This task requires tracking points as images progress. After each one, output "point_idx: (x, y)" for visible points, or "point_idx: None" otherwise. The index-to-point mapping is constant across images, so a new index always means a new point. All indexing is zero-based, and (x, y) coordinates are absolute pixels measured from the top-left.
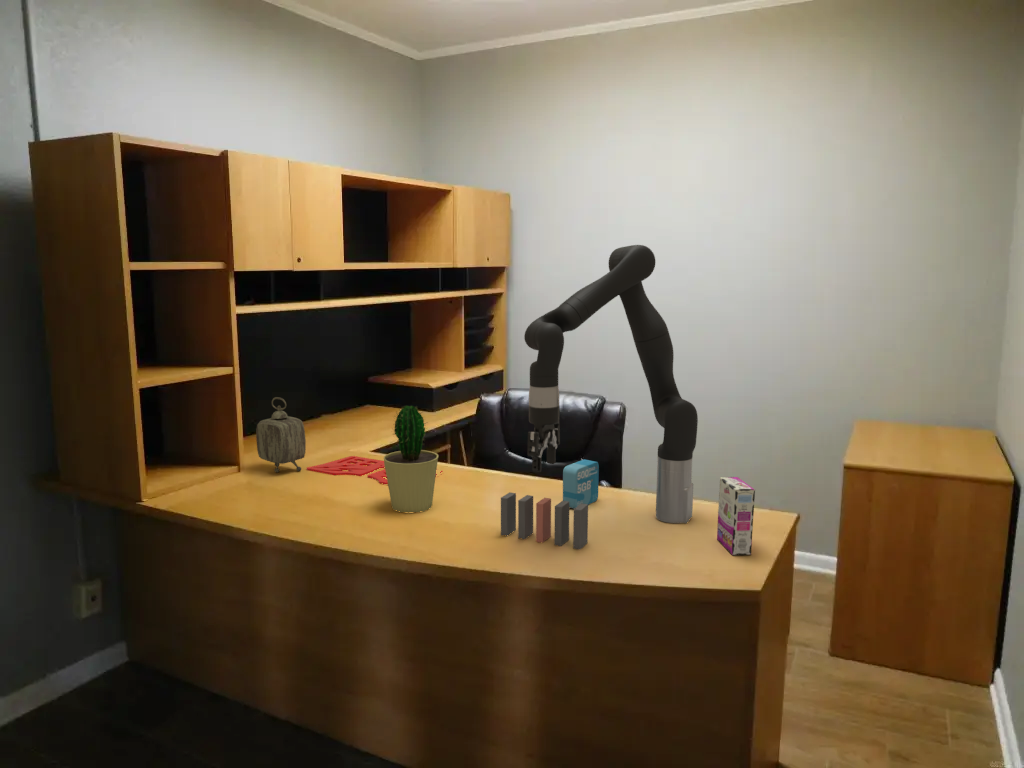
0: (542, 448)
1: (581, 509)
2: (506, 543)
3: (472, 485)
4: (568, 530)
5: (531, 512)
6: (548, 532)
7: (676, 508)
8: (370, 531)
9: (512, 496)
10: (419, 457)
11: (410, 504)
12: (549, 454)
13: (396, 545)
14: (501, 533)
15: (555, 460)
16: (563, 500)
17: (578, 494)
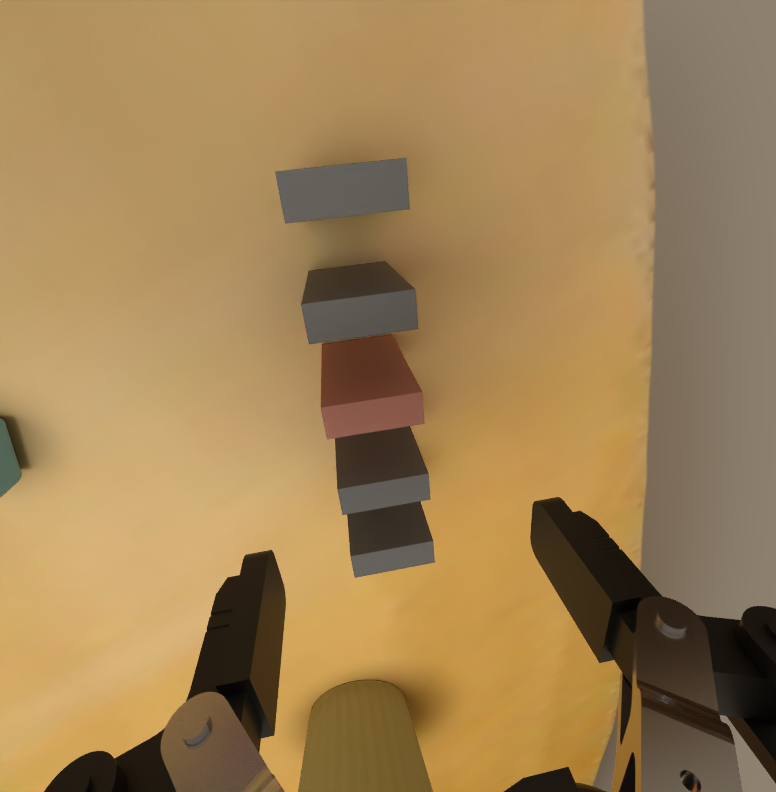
0: (692, 711)
1: (389, 160)
2: (454, 419)
3: (114, 734)
4: (314, 275)
5: (352, 445)
6: (344, 347)
7: None
8: (531, 663)
9: (382, 546)
10: None
11: (402, 710)
12: (272, 656)
13: None
14: None
15: (245, 570)
16: (11, 484)
17: None
